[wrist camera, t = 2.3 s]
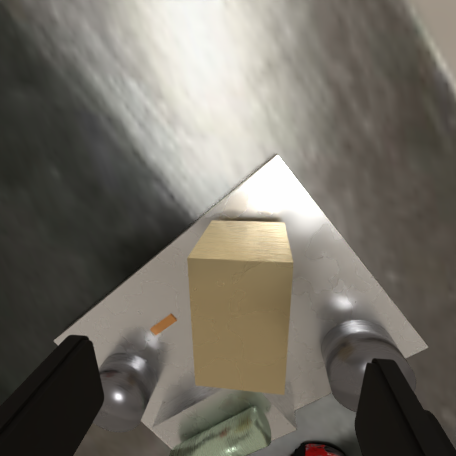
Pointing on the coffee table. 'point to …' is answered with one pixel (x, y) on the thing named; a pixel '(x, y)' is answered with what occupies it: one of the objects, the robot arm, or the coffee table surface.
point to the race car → (316, 450)
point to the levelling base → (297, 339)
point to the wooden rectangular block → (241, 305)
